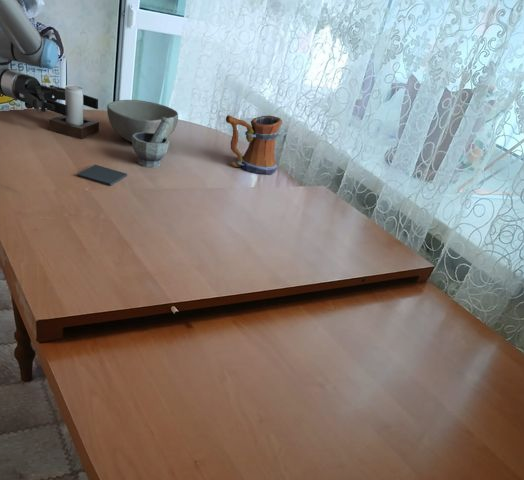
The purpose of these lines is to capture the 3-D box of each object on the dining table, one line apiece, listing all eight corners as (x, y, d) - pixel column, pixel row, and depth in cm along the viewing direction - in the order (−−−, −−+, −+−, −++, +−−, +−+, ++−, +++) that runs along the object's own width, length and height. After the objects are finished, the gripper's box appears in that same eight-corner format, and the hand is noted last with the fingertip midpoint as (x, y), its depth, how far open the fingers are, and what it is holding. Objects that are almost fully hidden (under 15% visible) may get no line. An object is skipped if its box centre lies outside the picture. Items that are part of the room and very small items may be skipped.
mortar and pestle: (146, 171, 145) (149, 125, 138) (124, 159, 149) (125, 113, 142) (177, 166, 153) (182, 122, 146) (155, 155, 157) (158, 111, 150)
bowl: (150, 129, 175) (152, 96, 169) (188, 151, 165) (192, 117, 159) (93, 132, 162) (93, 96, 157) (130, 156, 152) (132, 119, 146)
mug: (226, 173, 155) (234, 119, 147) (213, 159, 163) (220, 107, 155) (282, 176, 163) (293, 124, 154) (267, 162, 171) (276, 112, 162)
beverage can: (83, 134, 159) (83, 90, 152) (66, 132, 158) (65, 88, 151) (82, 129, 163) (82, 86, 156) (65, 127, 161) (64, 84, 154)
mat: (76, 176, 134) (76, 173, 133) (95, 166, 141) (95, 164, 140) (110, 186, 133) (110, 183, 132) (127, 175, 140) (127, 173, 140)
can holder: (49, 130, 157) (48, 119, 155) (68, 123, 165) (68, 113, 163) (81, 139, 155) (81, 128, 154) (99, 132, 164) (99, 121, 162)
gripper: (52, 96, 172) (108, 114, 167) (-10, 106, 152) (53, 128, 148) (51, 70, 167) (109, 88, 163) (-13, 77, 148) (51, 98, 143)
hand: (82, 107), depth 155 cm, fingers open, 13 cm apart
